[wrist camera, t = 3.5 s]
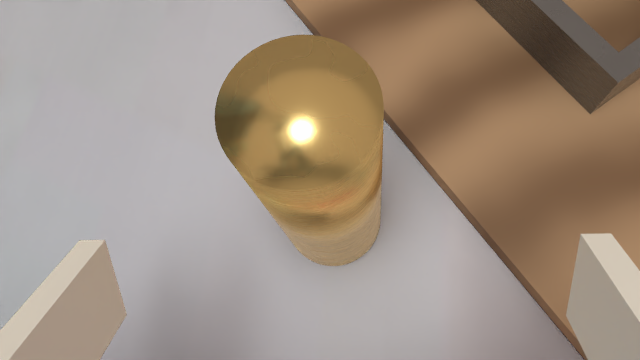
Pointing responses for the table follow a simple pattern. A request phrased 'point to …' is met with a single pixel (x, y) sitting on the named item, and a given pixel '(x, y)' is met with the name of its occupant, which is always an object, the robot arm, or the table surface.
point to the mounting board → (504, 129)
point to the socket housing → (568, 48)
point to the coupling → (308, 142)
